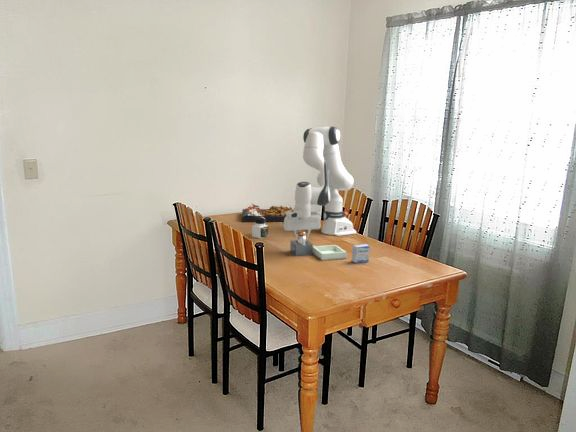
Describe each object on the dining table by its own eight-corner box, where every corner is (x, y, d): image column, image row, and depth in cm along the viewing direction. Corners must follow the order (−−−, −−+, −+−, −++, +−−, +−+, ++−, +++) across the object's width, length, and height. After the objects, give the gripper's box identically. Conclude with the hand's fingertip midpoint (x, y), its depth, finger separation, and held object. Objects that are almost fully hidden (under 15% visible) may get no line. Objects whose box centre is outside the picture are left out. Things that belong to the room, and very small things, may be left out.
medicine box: (356, 263, 245) (357, 247, 243) (351, 261, 248) (352, 245, 246) (368, 261, 248) (369, 245, 246) (363, 259, 252) (364, 243, 250)
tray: (335, 250, 265) (335, 244, 264) (346, 258, 252) (346, 252, 251) (312, 252, 261) (312, 246, 260) (321, 260, 248) (322, 254, 247)
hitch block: (306, 249, 265) (306, 239, 264) (312, 254, 257) (312, 244, 255) (290, 251, 262) (290, 240, 261) (295, 256, 254) (296, 245, 252)
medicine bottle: (260, 239, 285) (261, 219, 282) (251, 236, 289) (251, 217, 286) (268, 236, 290) (268, 217, 288) (259, 234, 294) (259, 215, 292)
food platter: (242, 223, 325) (242, 208, 322) (242, 215, 349) (242, 201, 346) (307, 223, 329) (308, 209, 326) (303, 215, 352) (304, 201, 350)
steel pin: (303, 251, 262) (304, 230, 260) (306, 253, 258) (307, 232, 256) (296, 252, 261) (296, 230, 258) (298, 254, 257) (299, 232, 254)
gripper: (318, 210, 261) (317, 234, 264) (282, 212, 254) (282, 237, 257) (322, 213, 255) (321, 237, 258) (286, 214, 249) (285, 240, 252)
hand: (301, 237), depth 258 cm, fingers closed on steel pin, 4 cm apart
